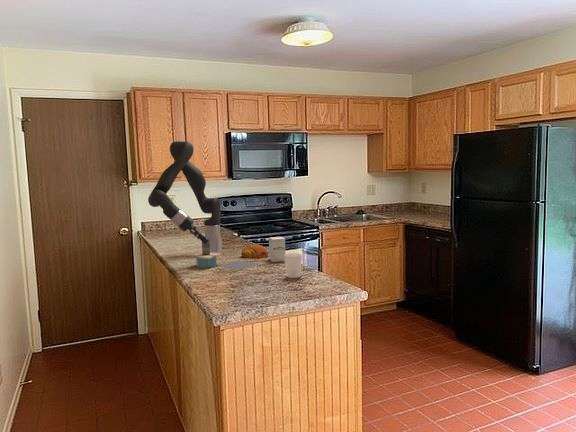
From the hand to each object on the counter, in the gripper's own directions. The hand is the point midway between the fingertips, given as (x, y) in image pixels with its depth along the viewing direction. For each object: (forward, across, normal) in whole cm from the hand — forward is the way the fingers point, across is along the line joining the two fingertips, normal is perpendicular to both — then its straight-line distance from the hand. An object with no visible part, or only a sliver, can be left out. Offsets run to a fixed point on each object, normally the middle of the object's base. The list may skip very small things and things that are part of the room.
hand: (206, 241), depth 230 cm
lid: (+5, 0, +6) cm, 8 cm away
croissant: (+30, +16, -10) cm, 35 cm away
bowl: (+9, 0, +9) cm, 13 cm away
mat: (+21, -5, -2) cm, 21 cm away
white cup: (+35, -38, -16) cm, 54 cm away
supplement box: (+36, -1, -17) cm, 40 cm away
